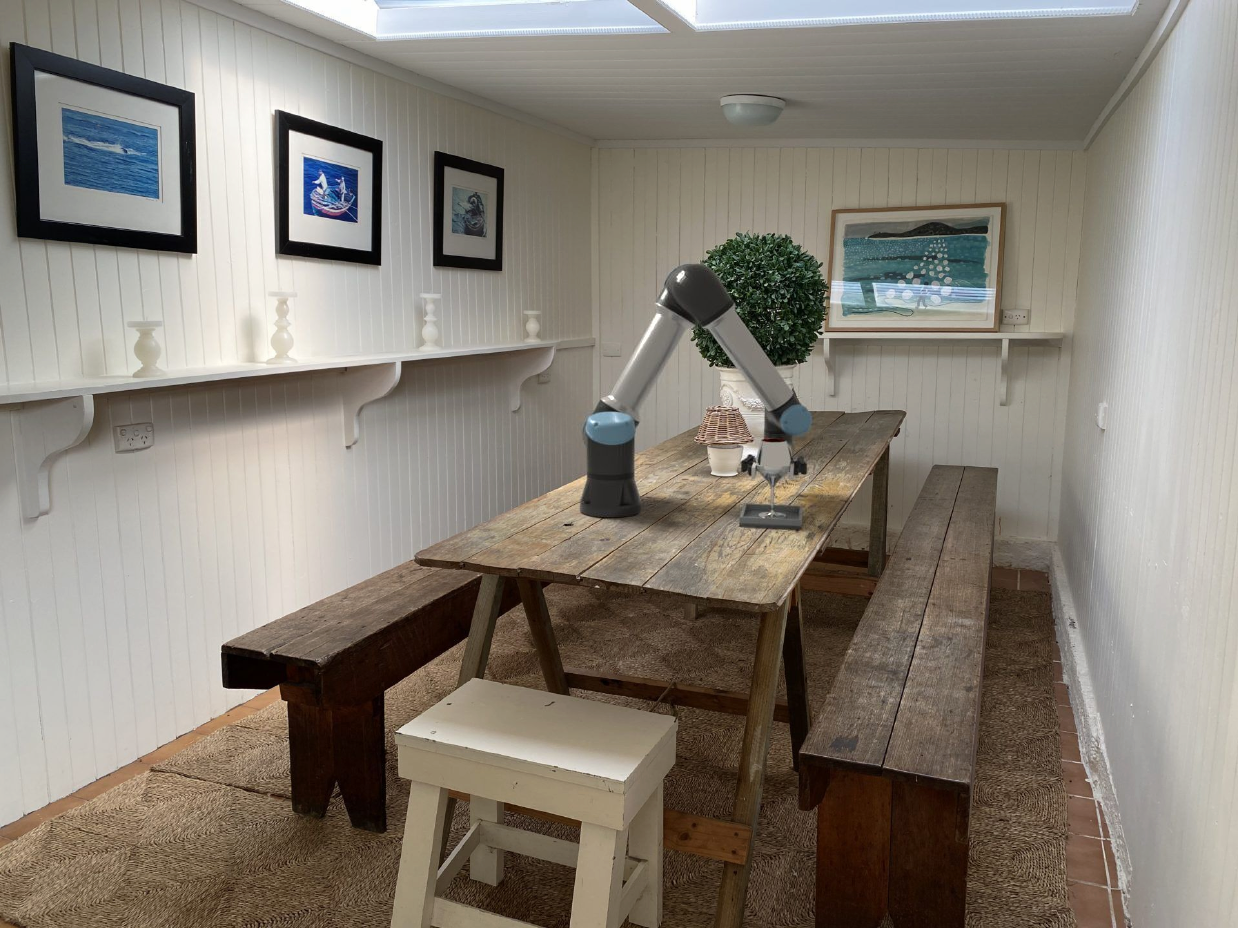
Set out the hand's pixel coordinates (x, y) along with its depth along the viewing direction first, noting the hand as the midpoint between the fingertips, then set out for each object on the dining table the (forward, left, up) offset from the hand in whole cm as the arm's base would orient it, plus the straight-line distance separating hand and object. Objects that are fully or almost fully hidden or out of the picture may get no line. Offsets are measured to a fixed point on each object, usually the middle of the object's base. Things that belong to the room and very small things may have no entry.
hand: (772, 474), depth 216 cm
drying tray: (0, +5, -12) cm, 13 cm away
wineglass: (0, +5, -11) cm, 12 cm away
